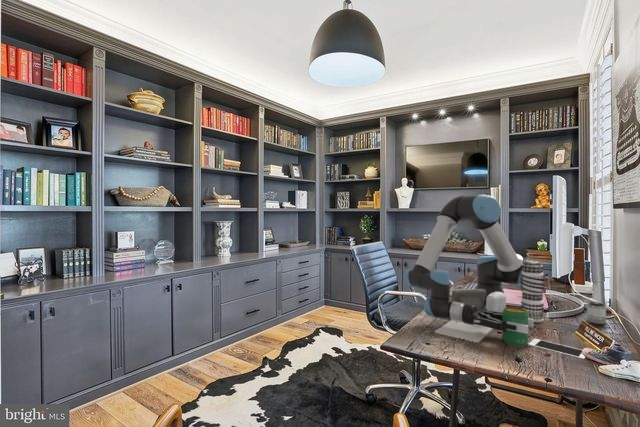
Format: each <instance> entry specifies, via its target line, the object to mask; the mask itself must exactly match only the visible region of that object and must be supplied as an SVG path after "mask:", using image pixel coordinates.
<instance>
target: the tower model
mask: <svg viewBox="0 0 640 427" xmlns="http://www.w3.org/2000/svg"><path fill="white" fill-rule="evenodd" d="M543 266H544V265H543V264H542V263H541V262H540V261H537V260H525V261H524V263H523V264H522V274H520V275H521V276H522V277H521V278H520V279H521V281H520V282H521V284H522V285H521V286H519V287H520V292H522V293H521V295H522V296H521V301H520V304H521V305H520V308H522V309H525V310H526V312H527V314H528V318H530V319H534V322H535V323H542V322H544V317H545V316H544V314H545V312H544V310H545V308H544V306H545V304H544V299H543V297H544V296H543V295H544V293H545V292H544V291H543V290H544V289H545V287H544V286H545V283H544V281H546V279H545V277H546V275H544V270H543Z"/></svg>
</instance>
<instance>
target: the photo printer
mask: <svg viewBox="0 0 640 427" xmlns="http://www.w3.org/2000/svg"><path fill="white" fill-rule="evenodd" d="M504 293H505V292H504ZM504 293H502V292H493V293H491V294H489V295H488V296H487V298H486V303H485V306H486V307H485V309H487V310H491V311H498V312H502V311H503V310H504V308H505V307H507V295H506V293H505V294H504Z"/></svg>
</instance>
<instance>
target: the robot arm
mask: <svg viewBox="0 0 640 427" xmlns="http://www.w3.org/2000/svg"><path fill="white" fill-rule="evenodd" d="M500 209H501V205H500V203H499V201H498V199H496V198H495V197H493V196H492V195H487V194H486V195H484V194H480V195H461V196H460V195H459V196H456V197H454V198H452V199H451V200H450V201H448V202H447V203H446V204H445V205H444V206H443V208H441V210H440V212H439V213H438V215H437V216H436V220H437V221H436V223H435V226H434V227H433V229H432V231H431V233H430V234H429V235H430V236H429V237H428V239H427V241H426V243H425V244H424V247H423V249H422V251H420V253H419V256H418V258H417V260H416V261H415V264H414V266H413V268H410V269H406V270H405V271H404V273H403V282H404V283H405V284H406V285H407V286H409V287H412V288H417V289H421V290H424V291H428V292H430V296H429V297H427V298H425V301H424V305H423V308H424V309H423V310H424V312H425V314H426V315H427V316H430V317H434V318H436V319H437V318H438V319H442V320H447V321H451V320H452V321H456V323H458V322H461V323H462V322H464V323H465V324H470V325H474V324H476V325H482V326H485V327H489V328H493V330H497V331H501V332H502V330H503V332H506V329H507V330H511V331H516V332H521V333H526V334H528V335H529V327H531V328H534V325H535V324H534V319H530V318H528V325H523V324H518V323H513V322H508V321H507V324H506V322H504V321H502V312H498V311H491V310H487V309H486V308H485V309H482V310H481V311H478V310H477V308H476V306H475V305H470V304H464V303H459V302H453V301H451V279H450V278H451V277H450V273H449V271H447V270H445V269H433V268H434V266H435V265H436V263H437V260H438V259H439V256H440V255H441V252H443V248H444V247H445V245H446V243H447V241H448V239H449V237H450V235H451V234H452V231H453V229H456V228H457V227H458V225H459V223H460V222H468V223H470V224H471V226H472V227H473V229H475V230H476V231H479V232H480V234H481V235H482V238H483V239H484V241H485V242H486V244H487V246H488V247H489V249H490V250H491V253H492V254H493V255H481V256H479V257H478V258H477V264H476V271H477V272H476V275H477V276H476V279H477V280H476V287H475V289H485V290H486V296H485V301H484V304H486V298H487V296H488V295H489V294H491V293H493V292H502V293H504V294H505V295H506V293H505V291H504V288H503V284H507V285H512V286H515V287H516V286H518V287H520V286H521V285H522V284H521V282H520V281H521V279H520V278H521V277H522V276H521V275H520V274H522V264H523V263H524V262H525V261H524V259H523V257H522V256H521V255H520V254H518V253H517V252H516V251H515V250H514V248H513V246H512V244H511V243H510V241H509V239H508V237H507V236H506V233H505V232H504V230H503V229H502V227H501V225H500V223H499V220H500V217H501V212H502V210H500Z"/></svg>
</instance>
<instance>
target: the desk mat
mask: <svg viewBox="0 0 640 427" xmlns="http://www.w3.org/2000/svg"><path fill="white" fill-rule="evenodd" d="M493 330H494V329H493V328H489V327H485V326H482V325H476V324H474V325H470V324H465V323H464V322H462V323H461V322H458V323H456V321H452V320H449V321H448V322H447V323H445V324H444V325H441V326H440V327H439V328H437V329H436V330H434V333H435V334H440V335H443V336H444V335H445V336H447V337H452V338H456V339H459V338H461V339H460V340H463V339H465V340H464V341H468V340H469V342H472V341H473V342H472V343H476V342H477V343H476V344H479V343H480V342H481V341H482V340H483V339H484V338H485V337H487V336H488V335H489V334H490V333H491V332H492V331H493Z"/></svg>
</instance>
